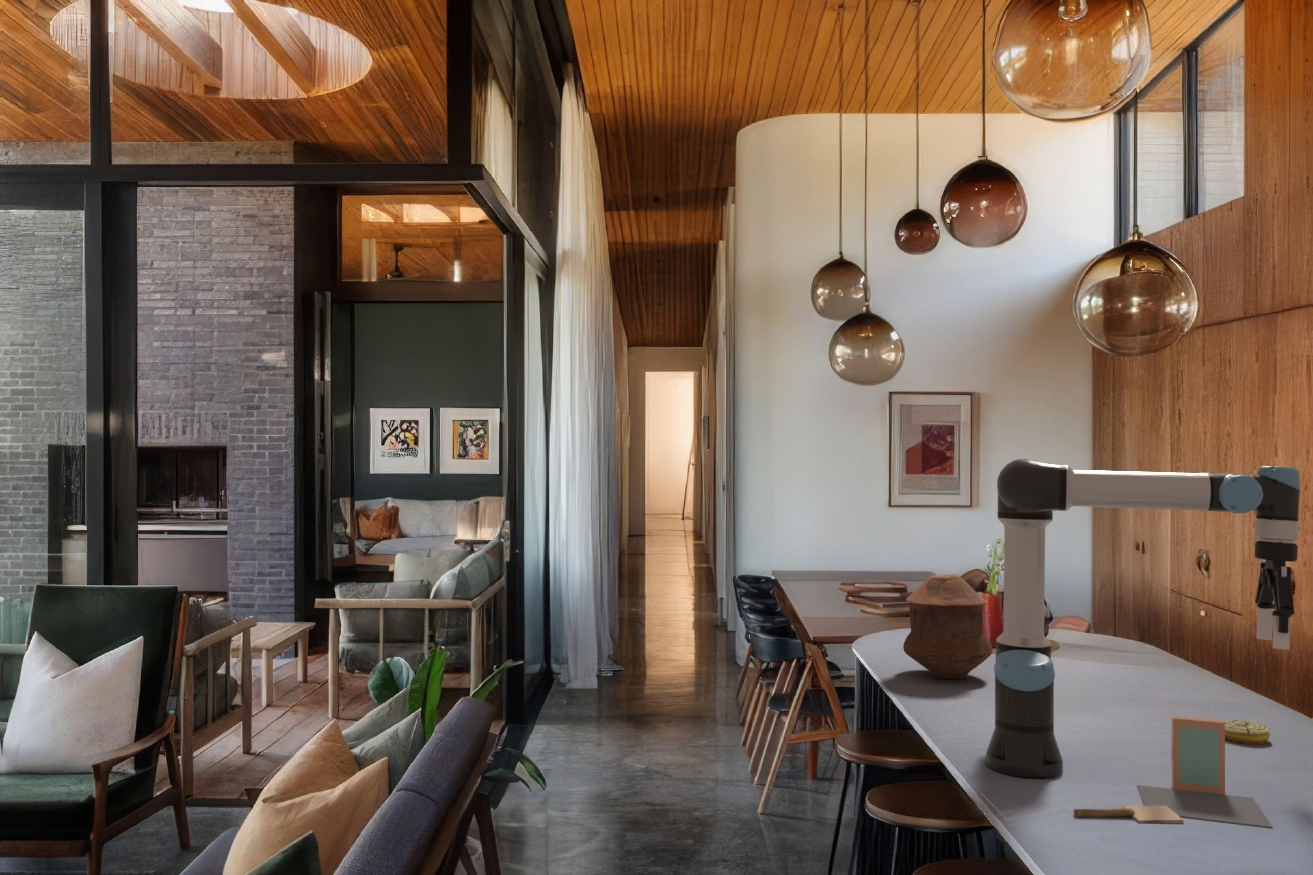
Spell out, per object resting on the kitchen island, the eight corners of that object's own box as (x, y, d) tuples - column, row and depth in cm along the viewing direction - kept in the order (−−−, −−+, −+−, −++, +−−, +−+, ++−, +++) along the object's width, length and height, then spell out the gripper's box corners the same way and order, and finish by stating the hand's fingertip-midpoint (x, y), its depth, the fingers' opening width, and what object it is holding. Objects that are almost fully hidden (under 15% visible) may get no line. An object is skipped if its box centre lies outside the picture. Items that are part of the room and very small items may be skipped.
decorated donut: (1234, 731, 238) (1234, 715, 238) (1279, 742, 229) (1279, 726, 229) (1206, 736, 234) (1206, 720, 234) (1251, 748, 224) (1251, 731, 224)
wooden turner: (1082, 824, 177) (1082, 816, 177) (1068, 809, 183) (1068, 802, 183) (1183, 822, 177) (1183, 815, 176) (1166, 808, 183) (1166, 801, 182)
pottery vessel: (1000, 688, 280) (1000, 581, 280) (907, 684, 284) (907, 579, 284) (984, 668, 305) (985, 571, 306) (899, 665, 309) (900, 569, 310)
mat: (1146, 813, 181) (1146, 811, 181) (1137, 786, 196) (1137, 784, 196) (1272, 829, 174) (1272, 826, 174) (1252, 799, 189) (1252, 797, 189)
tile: (1173, 789, 195) (1173, 718, 195) (1171, 786, 197) (1171, 715, 197) (1225, 795, 192) (1224, 722, 192) (1222, 791, 194) (1222, 720, 194)
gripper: (1315, 545, 192) (1311, 655, 191) (1281, 539, 216) (1277, 637, 215) (1270, 542, 195) (1266, 650, 194) (1242, 536, 218) (1238, 633, 217)
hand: (1272, 644), depth 204 cm, fingers open, 13 cm apart
